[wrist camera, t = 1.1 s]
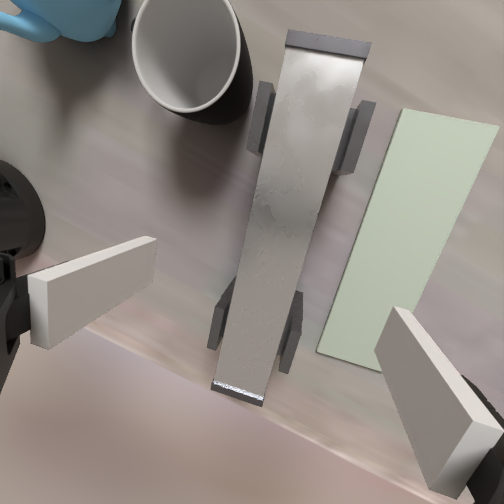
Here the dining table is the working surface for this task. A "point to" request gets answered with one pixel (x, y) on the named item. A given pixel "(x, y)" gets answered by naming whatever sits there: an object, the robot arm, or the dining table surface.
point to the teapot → (62, 19)
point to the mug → (193, 58)
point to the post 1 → (288, 336)
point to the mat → (404, 227)
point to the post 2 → (349, 139)
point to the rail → (286, 203)
